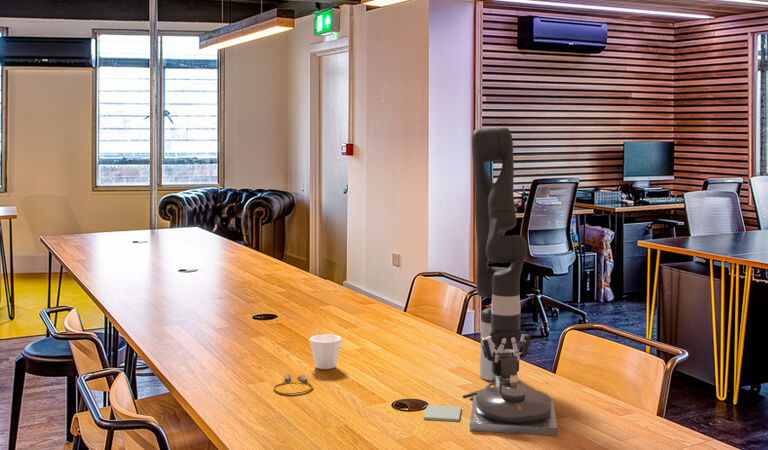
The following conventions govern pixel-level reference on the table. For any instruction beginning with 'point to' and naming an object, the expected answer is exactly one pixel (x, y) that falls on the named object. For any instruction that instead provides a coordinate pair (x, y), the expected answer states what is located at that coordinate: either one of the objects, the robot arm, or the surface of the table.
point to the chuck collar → (513, 402)
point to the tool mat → (442, 413)
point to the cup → (325, 350)
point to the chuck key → (507, 365)
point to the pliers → (478, 391)
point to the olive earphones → (300, 378)
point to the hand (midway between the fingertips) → (505, 374)
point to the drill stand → (513, 424)
